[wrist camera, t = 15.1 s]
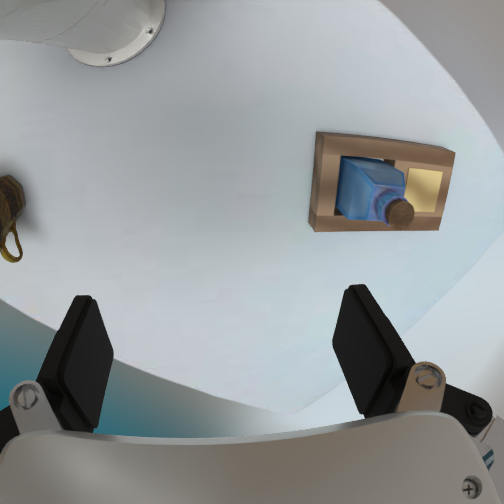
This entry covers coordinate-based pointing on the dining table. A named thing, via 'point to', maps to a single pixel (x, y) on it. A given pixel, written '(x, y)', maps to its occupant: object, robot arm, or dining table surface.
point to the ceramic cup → (10, 213)
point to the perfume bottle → (373, 192)
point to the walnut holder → (395, 154)
